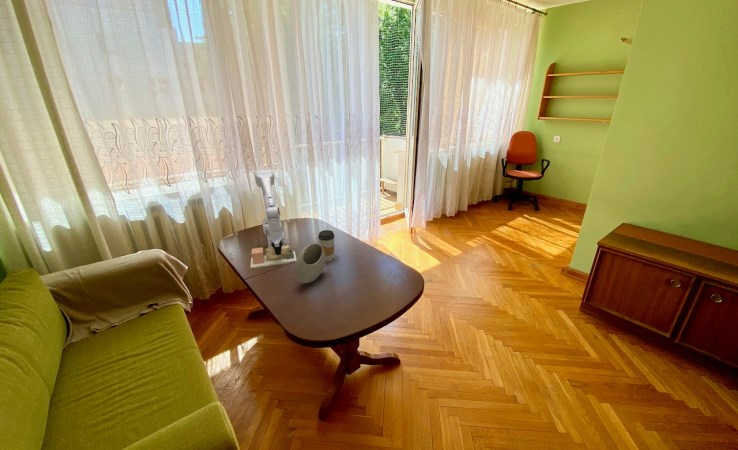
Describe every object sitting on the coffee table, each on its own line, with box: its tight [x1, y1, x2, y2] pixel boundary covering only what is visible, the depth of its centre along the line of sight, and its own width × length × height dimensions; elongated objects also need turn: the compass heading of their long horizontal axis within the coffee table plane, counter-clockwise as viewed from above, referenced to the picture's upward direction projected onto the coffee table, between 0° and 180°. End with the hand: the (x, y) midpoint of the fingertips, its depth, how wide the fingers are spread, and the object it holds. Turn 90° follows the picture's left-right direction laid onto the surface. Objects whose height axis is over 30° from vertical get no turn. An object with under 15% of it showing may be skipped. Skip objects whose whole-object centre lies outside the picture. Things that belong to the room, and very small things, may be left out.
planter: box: [294, 242, 326, 284], centre depth 134 cm, size 18×7×19 cm, turn 148°
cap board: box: [250, 248, 297, 269], centre depth 154 cm, size 22×10×4 cm, turn 108°
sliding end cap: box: [251, 247, 265, 264], centre depth 151 cm, size 5×6×6 cm
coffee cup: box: [317, 229, 335, 263], centre depth 154 cm, size 8×8×15 cm
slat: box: [265, 244, 291, 260], centre depth 154 cm, size 12×3×5 cm, turn 108°
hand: (278, 253), depth 154 cm, fingers closed on slat, 3 cm apart
